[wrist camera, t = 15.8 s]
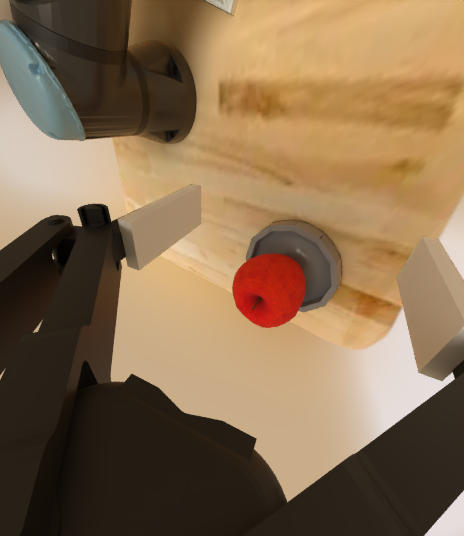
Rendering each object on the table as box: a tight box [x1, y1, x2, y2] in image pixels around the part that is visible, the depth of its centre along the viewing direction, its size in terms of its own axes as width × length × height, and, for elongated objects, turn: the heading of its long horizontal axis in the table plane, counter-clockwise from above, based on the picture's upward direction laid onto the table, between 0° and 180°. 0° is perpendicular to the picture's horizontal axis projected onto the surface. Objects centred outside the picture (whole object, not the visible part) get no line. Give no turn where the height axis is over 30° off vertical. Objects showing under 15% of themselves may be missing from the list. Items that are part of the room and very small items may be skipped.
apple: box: [232, 254, 305, 328], centre depth 41 cm, size 12×12×13 cm
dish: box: [246, 220, 342, 312], centre depth 44 cm, size 17×18×3 cm
